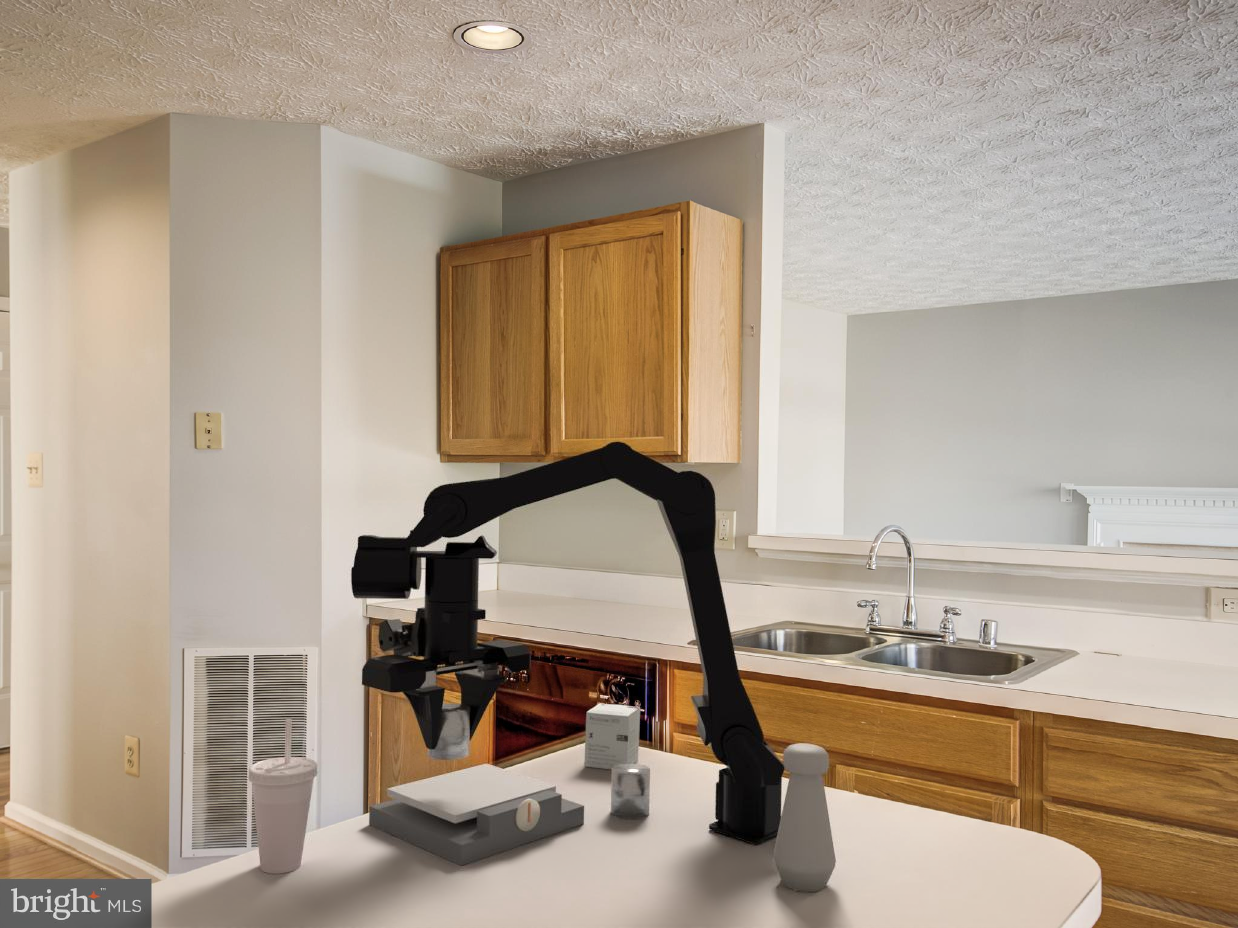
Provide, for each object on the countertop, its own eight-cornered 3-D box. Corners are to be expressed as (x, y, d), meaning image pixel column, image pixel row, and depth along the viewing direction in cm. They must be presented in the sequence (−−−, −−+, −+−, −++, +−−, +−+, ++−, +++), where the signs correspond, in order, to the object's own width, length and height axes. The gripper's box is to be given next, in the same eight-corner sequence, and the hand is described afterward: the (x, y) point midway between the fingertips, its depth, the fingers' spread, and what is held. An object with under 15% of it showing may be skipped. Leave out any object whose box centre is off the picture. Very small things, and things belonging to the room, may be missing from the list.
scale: (586, 824, 109) (587, 782, 109) (463, 866, 97) (464, 819, 97) (490, 790, 120) (491, 752, 121) (369, 824, 108) (370, 781, 108)
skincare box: (583, 767, 131) (584, 711, 131) (597, 755, 137) (598, 701, 137) (627, 772, 130) (629, 715, 130) (639, 759, 136) (640, 705, 136)
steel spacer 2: (657, 813, 114) (658, 769, 114) (631, 822, 111) (632, 777, 111) (628, 803, 117) (629, 761, 117) (602, 812, 114) (603, 768, 114)
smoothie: (329, 860, 98) (333, 717, 98) (281, 884, 92) (285, 732, 92) (279, 849, 100) (283, 710, 101) (230, 871, 95) (234, 723, 95)
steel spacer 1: (477, 754, 107) (478, 707, 107) (444, 762, 104) (445, 714, 104) (452, 746, 110) (453, 701, 110) (419, 753, 107) (420, 707, 107)
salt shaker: (840, 897, 92) (842, 755, 92) (777, 895, 92) (780, 753, 92) (828, 872, 97) (830, 739, 98) (769, 870, 97) (772, 737, 98)
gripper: (472, 587, 120) (469, 717, 119) (334, 599, 106) (331, 746, 106) (534, 595, 112) (532, 734, 112) (395, 609, 98) (391, 768, 98)
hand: (448, 744), depth 107 cm, fingers closed on steel spacer 1, 4 cm apart
